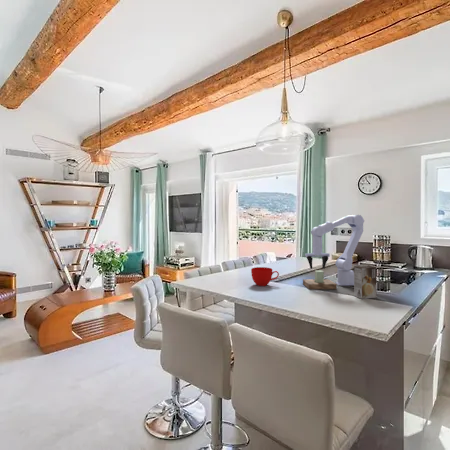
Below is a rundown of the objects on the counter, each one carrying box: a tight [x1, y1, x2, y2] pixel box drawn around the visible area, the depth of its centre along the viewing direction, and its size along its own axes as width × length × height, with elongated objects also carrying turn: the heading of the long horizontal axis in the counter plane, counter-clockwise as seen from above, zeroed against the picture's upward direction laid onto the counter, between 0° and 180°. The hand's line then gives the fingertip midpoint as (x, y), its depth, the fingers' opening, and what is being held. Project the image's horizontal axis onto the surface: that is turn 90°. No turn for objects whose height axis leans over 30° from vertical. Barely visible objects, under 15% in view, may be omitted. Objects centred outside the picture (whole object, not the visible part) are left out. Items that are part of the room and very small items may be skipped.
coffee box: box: [353, 265, 377, 300], centre depth 164 cm, size 9×6×16 cm
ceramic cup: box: [250, 266, 280, 287], centre depth 193 cm, size 13×17×10 cm
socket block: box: [302, 278, 338, 290], centre depth 188 cm, size 16×14×3 cm
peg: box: [314, 270, 325, 283], centre depth 188 cm, size 4×4×9 cm
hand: (317, 268), depth 191 cm, fingers open, 7 cm apart
